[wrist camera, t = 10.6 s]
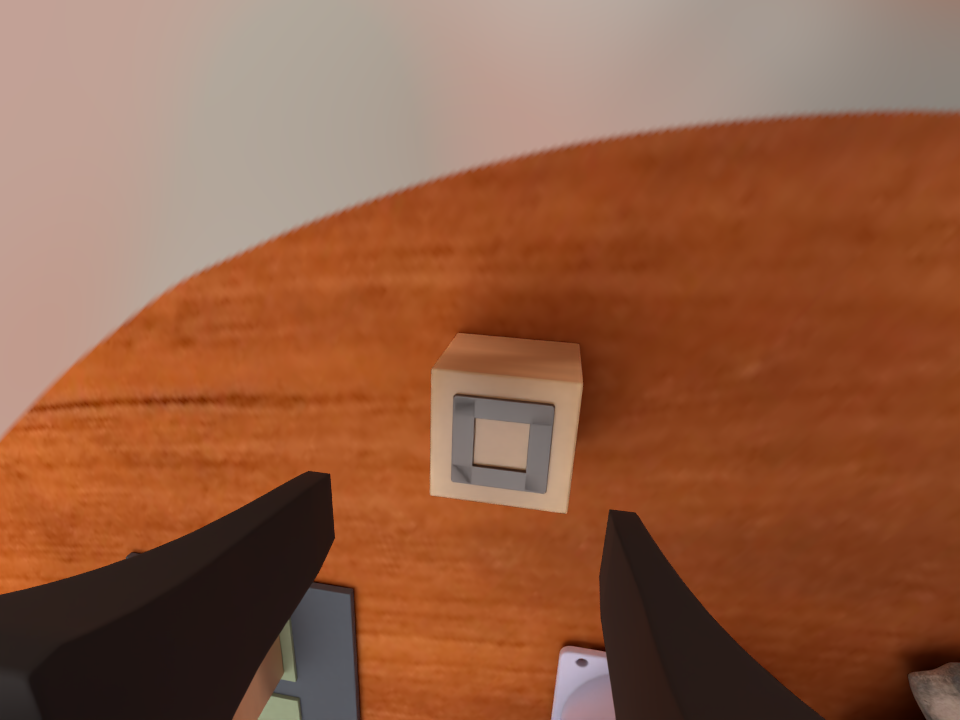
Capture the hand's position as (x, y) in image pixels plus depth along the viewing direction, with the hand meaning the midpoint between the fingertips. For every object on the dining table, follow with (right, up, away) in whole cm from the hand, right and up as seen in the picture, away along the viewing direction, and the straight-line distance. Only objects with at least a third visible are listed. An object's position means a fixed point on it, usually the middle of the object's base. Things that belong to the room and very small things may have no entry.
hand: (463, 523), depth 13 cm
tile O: (+2, +3, +7) cm, 8 cm away
